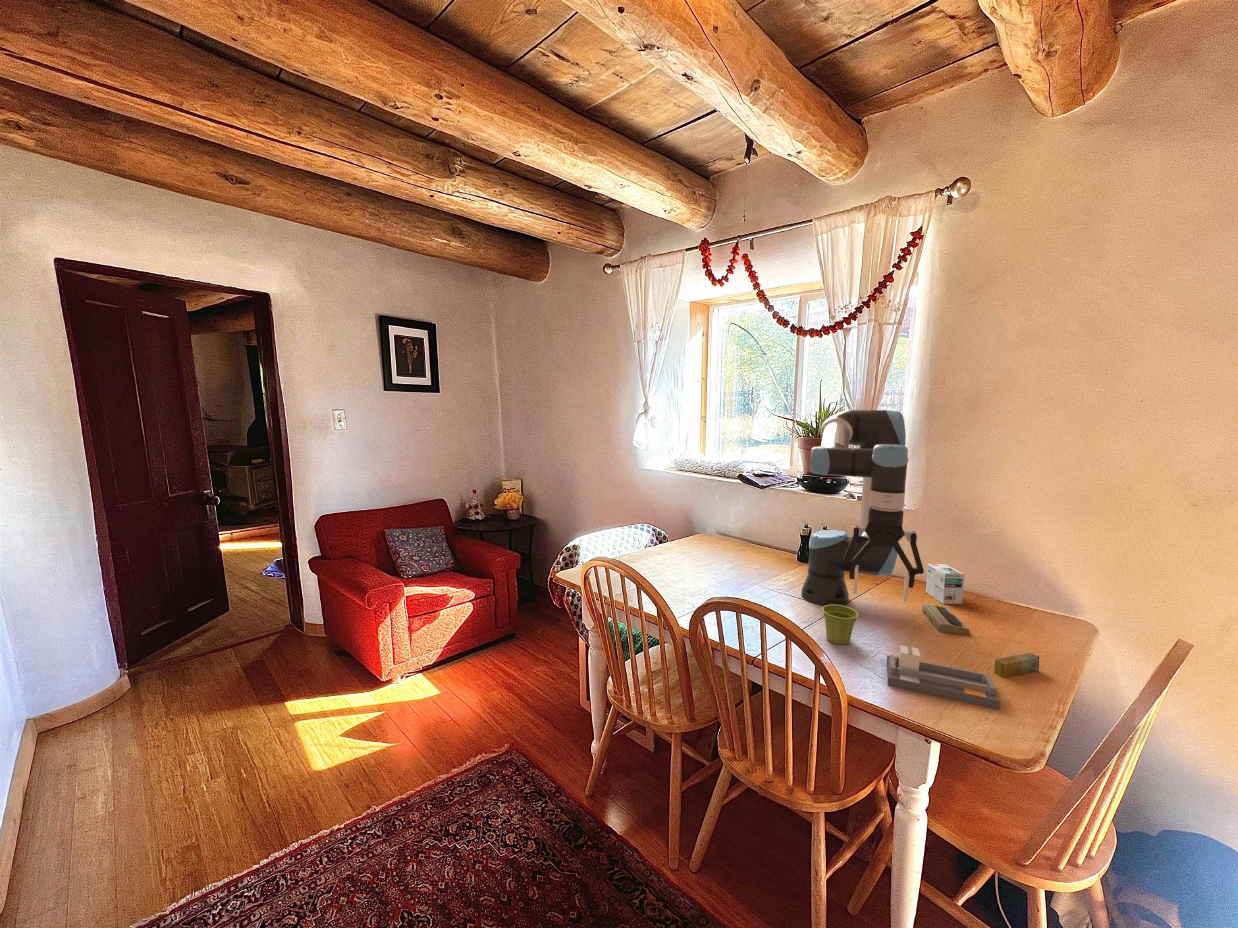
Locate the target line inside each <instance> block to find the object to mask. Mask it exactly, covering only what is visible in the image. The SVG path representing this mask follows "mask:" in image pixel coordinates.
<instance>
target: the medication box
mask: <svg viewBox="0 0 1238 928" xmlns="http://www.w3.org/2000/svg"><path fill="white" fill-rule="evenodd" d="M1039 671H1040V656H1038V655H1036V654H1034V653H1031V652H1026V653H1022V654H1016V655H1011V656H1008V657H1007V656H1006V657H1000V658H996V659H995V662H994V674H996V675H997V676H999V677H1001V678H1003V679H1007V678H1012V677H1018V676H1023V675H1027V674H1033V673H1038V672H1039Z"/></svg>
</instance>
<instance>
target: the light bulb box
mask: <svg viewBox="0 0 1238 928" xmlns="http://www.w3.org/2000/svg"><path fill="white" fill-rule="evenodd" d="M965 577H966V576H965V573H963V572H961V571H960V570H958V569H955V568H954V567H952V566H949V565H948V564H946V563H942V564H941V563H940V564H939V563H927V571H926V584H925V585H926V586H925V593H926V594H927V593H928V595H929V596H931V597H932V598H933V599H935V600H936V601H937V602H940V603H941V604H943V605H945V604H947V605H949V604H950V605H963V598H964V588H965V587H964V585H965Z"/></svg>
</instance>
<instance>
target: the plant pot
mask: <svg viewBox="0 0 1238 928" xmlns="http://www.w3.org/2000/svg"><path fill="white" fill-rule="evenodd" d="M822 612H823V615H824V622H825V633H826V635H825V636H826V639H827V641H830V642H831V643H833V644H836V645H841V646H842V645H846V644H850V642H851V639H852V632H853V629H854V625H855V622H856V621H857V618H858V617H859V613H858V611H857V610H856V609H853V608H851V607H849V606H845V605H823V606H822Z"/></svg>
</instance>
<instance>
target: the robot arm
mask: <svg viewBox="0 0 1238 928" xmlns="http://www.w3.org/2000/svg"><path fill="white" fill-rule="evenodd" d="M819 434H820V439H821V444H820V446H813V447H812V448H811V450H810V458H809V459H810V462H809V469H810V473H812V474H815V475H822V476H839V477H853V478H854V477H857V478H862V486H861V487H862V489H861V501H860V502H861V503H860V518H859V525H854V526H853V533H852V536H848V534H847V532H846V531H844V530H838V529H823V530H819V531H816V532H813V533H812V534H811V535H810V538H809V545H808V548H809V550H808V551H809V553H808V566H807V575H806V578H805V580H804V581H803V585H802V587H801V596H802V598H803V599H804V600H806V601H808V602H811V603H814V604H817V605H822V606H826V605H842V606H845V605H847V604H848V603H849V597H850V594H849V590H848V588H847V584H846V583H847V582H846V580H845V579H846V578H845V572H848V573H849V575H848V576H849V580H853V592H852V593H853V594H855V595H856V594H857V591H858V579H859V578H858V577H859V574H865V575H871V576H875V577H877V576H880V577H888V576H890V575H892V574H893V571H894V569H895V566H896V563H897V562H896V561H897V558H898V556H899V558H900V560H901V562H902V563H903V565H904V566H905V569H906V570H907V571H905V572H904V581H903V582H904V583H903V595H902V597H903V602H908V597H909V588H911V589H913V588H914V586H915V585H914V584H915V576H916V575H923V574H924V573H925V570H924V567H923V563H922V560H921V556H920V551H919V550H918V549H919V548H918V546H917V541H918V538H917V537H918V536H917V532H916V531H904V529H903V524H904V523H903V522H904V511H903V509H904V508H905V496H906V481H907V471H908V463H909V450H908V447H907V446H906V441H907V439H906V435H907V434H906V425H905V418H904V416H903V414H902V412H901V411H898V410H888V409H884V410H881V409H879V410H878V409H876V410H873V409H860V410H859V409H857V410H856V409H850V410H849V409H847V410H843V411H840V412H838V413H834V414H833V415H831V416H829V417H828V418H826V419H825V421H824V422H823V423H822V425H821V428H820V432H819ZM850 446H859V447H858V448H857V447H850ZM903 537H905V538H906V540H907V542H909V544H910V547H911V548H910V549H911V551H912V554H913V558H914V562H915V565H916V567H913V565H912V563H911V562H910V560H909V558H908V557H907V555H906V553H905V552H904V549H903V548H902V546H901V544H900V542H899V541H900V540H901V539H902V538H903Z"/></svg>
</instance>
